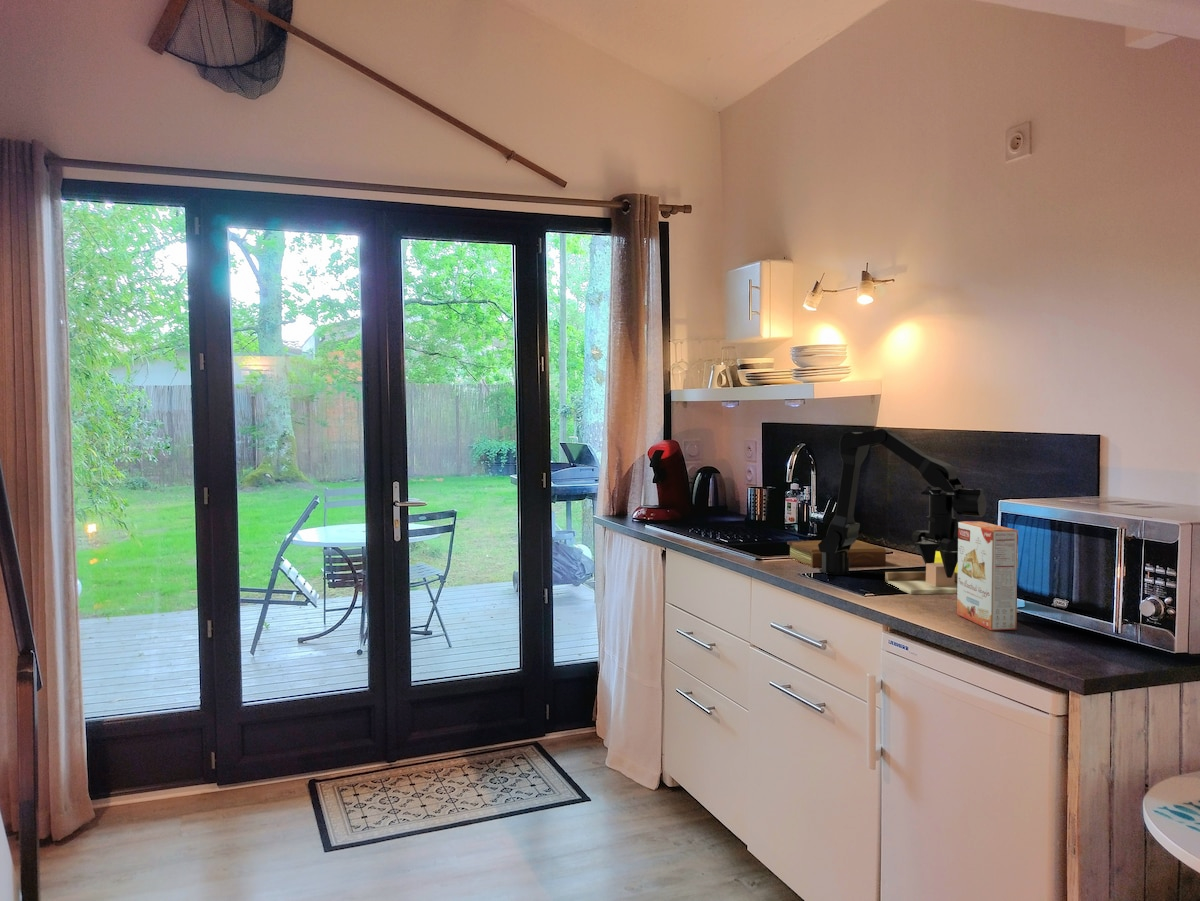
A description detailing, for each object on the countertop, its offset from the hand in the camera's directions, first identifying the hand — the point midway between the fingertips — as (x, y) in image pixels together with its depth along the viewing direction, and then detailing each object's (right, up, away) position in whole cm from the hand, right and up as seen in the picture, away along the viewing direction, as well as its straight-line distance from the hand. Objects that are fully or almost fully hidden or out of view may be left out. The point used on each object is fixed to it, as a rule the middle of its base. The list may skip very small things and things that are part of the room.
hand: (939, 574), depth 216 cm
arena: (-2, -4, 0) cm, 4 cm away
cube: (0, -3, 0) cm, 3 cm away
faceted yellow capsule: (+12, -3, +19) cm, 23 cm away
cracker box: (-5, -5, -37) cm, 37 cm away
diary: (-15, -3, +41) cm, 44 cm away
